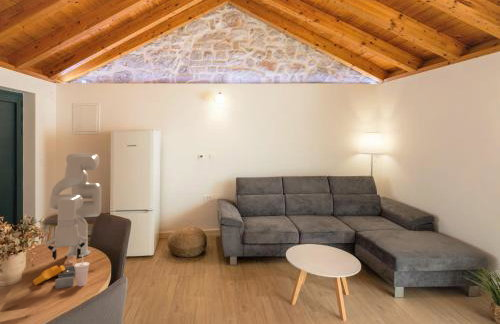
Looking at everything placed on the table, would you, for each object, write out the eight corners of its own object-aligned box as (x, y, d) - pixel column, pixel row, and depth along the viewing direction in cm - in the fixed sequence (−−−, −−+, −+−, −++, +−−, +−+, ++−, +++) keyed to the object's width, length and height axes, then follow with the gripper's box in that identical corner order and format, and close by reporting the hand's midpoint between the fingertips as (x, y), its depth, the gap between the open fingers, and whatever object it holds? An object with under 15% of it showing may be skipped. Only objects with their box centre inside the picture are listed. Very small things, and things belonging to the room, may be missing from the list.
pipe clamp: (52, 268, 153) (61, 261, 152) (56, 275, 153) (65, 269, 152) (30, 277, 142) (40, 270, 141) (35, 285, 141) (45, 278, 140)
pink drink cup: (78, 288, 139) (78, 258, 138) (71, 285, 142) (71, 255, 142) (92, 283, 144) (92, 254, 144) (84, 280, 148) (84, 252, 147)
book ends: (59, 275, 153) (60, 267, 153) (75, 273, 156) (75, 265, 156) (55, 288, 138) (55, 280, 138) (73, 286, 141) (73, 277, 141)
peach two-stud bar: (68, 265, 168) (68, 255, 168) (76, 264, 169) (76, 254, 169) (63, 273, 156) (63, 262, 156) (72, 272, 158) (72, 262, 158)
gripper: (87, 219, 154) (87, 252, 155) (46, 222, 146) (46, 257, 147) (86, 223, 147) (86, 257, 148) (44, 226, 140) (44, 262, 141)
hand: (66, 257), depth 148 cm, fingers open, 9 cm apart
